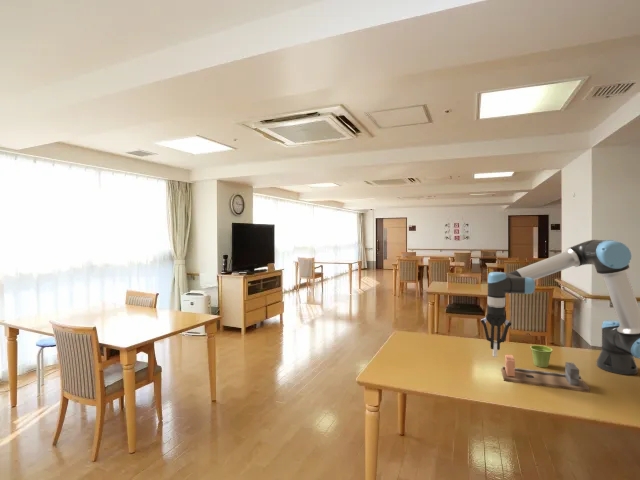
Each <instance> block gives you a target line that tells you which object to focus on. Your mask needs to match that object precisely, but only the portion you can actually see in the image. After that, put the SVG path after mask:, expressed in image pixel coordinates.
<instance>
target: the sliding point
mask: <svg viewBox="0 0 640 480" xmlns="http://www.w3.org/2000/svg"><path fill="white" fill-rule="evenodd" d="M504 359H505V364H504V365H505V366H504V367H505V370H506V373H507V376H513V377H515V368H516V361H515V358H514V355H513V354H505V356H504Z"/></svg>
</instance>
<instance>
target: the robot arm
mask: <svg viewBox="0 0 640 480" xmlns="http://www.w3.org/2000/svg"><path fill="white" fill-rule="evenodd" d="M631 261H632V251H631V250H630V248H629V246H627V245H626V244H624V243H623V242H620V241H618V240H612V239H609V240H606V239H605V240H602V239H601V240H600V239H590V240H587V241H583V242H581V243H578V244H576V245H573V246H571V247H568V248H566V249H565V251H563V252H560V253H558V254H555V255H553V256H549V257H548V258H545V259H542V260H539V261H537V262H534V263H531V264H529V265H526V266H524V267H520V268H518V269H516V270H512V271H510V272H501V271H491V272H489V273H488V275H487V300H486V301H487V307H486V315H485V317H484V318H481V319H480V322H481V324H482V326H483V329H484V334H485V338H486V340H487V342H490V349H491V350H492V357H493V358H498V350H499V351H500V350H501V349H500V348H501V343H505V340H506V339H507V335H508V330H509V328H510V326H512V322H511V321H509V320H508V319H507V318H506V307H505V306H506V295H507V294H518V295H519V294H521V295H529V294H530V295H532V294H533V293H534V292H535V290H536V283H535V281H536V280H538V279H541V278H545V277H548V276H549V275H552V274H555V273H558V272H561V271H564V270H567V269H569V268H571V267H575V268H578V267H581V266H584V265H585V266H587V265H593V266H594V268H595V271H596V273H597V274H598V275H600V276H602V278H603V281H604V284H605V287H606V289H607V292H608V295H609V298H610V301H611V304H612V306H613V309H614V313H615V315H616V318H617V320H603V322H602V325H601V351H600V353H599V354H598V357H597V360H596V366H597V367H598V368H599V369H601V370H604V371H606V372H609V373H614V374H619V375H624V376H625V375H626V376H628V375H629V376H630V375H631V376H632V375H633V376H634V375H637V373H638V365H637V363H636V360H635V359H639V360H640V306H639V304H638V302H637V301H638V300H637V297H636V295H635V291H634V290H633V286H632V283H631V281H630V278H629V275H628V270H629V269H630V263H631ZM487 322H488V323H489V325H490V335H489V331H488V327H487V324H486V323H487ZM503 324H505V326H504V328H503V332H502V335H501V328H502V327H501V326H502V325H503ZM495 327H496V341H495Z"/></svg>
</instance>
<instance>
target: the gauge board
mask: <svg viewBox="0 0 640 480" xmlns="http://www.w3.org/2000/svg"><path fill="white" fill-rule="evenodd" d="M564 368H565V370H564V371H565V372H564V373H559V372H551V371H550V372H549V371H543V370H535V369H534V370H533V369H527V368H517V367H515V377H513V376H507V373H506V370H505V366H502V367H501V368H500V369H501V370H500V371H501V374H502V378H503V381H504V382H510V383H519V384H524V385H525V384H526V385H532V386H533V385H534V386H539V387H540V386H541V387H548V388H555V389H563V390H572V391H578V392H586V393H591V389H590V387H589V386H588V384H587V383H586V382H585V381H584V380H583V378H582V377H581V375H580V369H579V368H578V366H577V365H576V364H575V363H574V362H567V361H565V366H564Z"/></svg>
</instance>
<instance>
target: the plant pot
mask: <svg viewBox="0 0 640 480" xmlns="http://www.w3.org/2000/svg"><path fill="white" fill-rule="evenodd" d="M530 349H531V352H532V353H531V354H532V360H533V365H534V366H535V367H539V368H541V369H542V368H548V367H549V364H550V360H551V359H550V358H551V354H552V352H553V348H552V347H549V346H546V345H539V344H537V345H536V344H535V345H530Z"/></svg>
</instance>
